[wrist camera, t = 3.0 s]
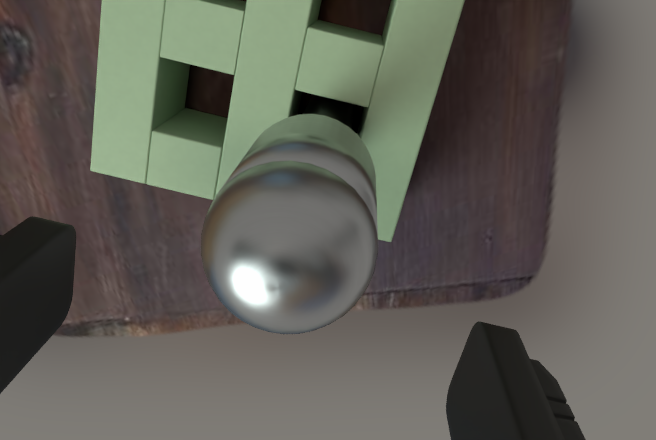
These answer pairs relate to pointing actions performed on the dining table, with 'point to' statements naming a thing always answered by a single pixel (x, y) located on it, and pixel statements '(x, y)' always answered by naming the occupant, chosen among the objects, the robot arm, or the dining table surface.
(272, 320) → the microphone
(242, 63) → the rack
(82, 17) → the dining table surface
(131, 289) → the dining table surface
